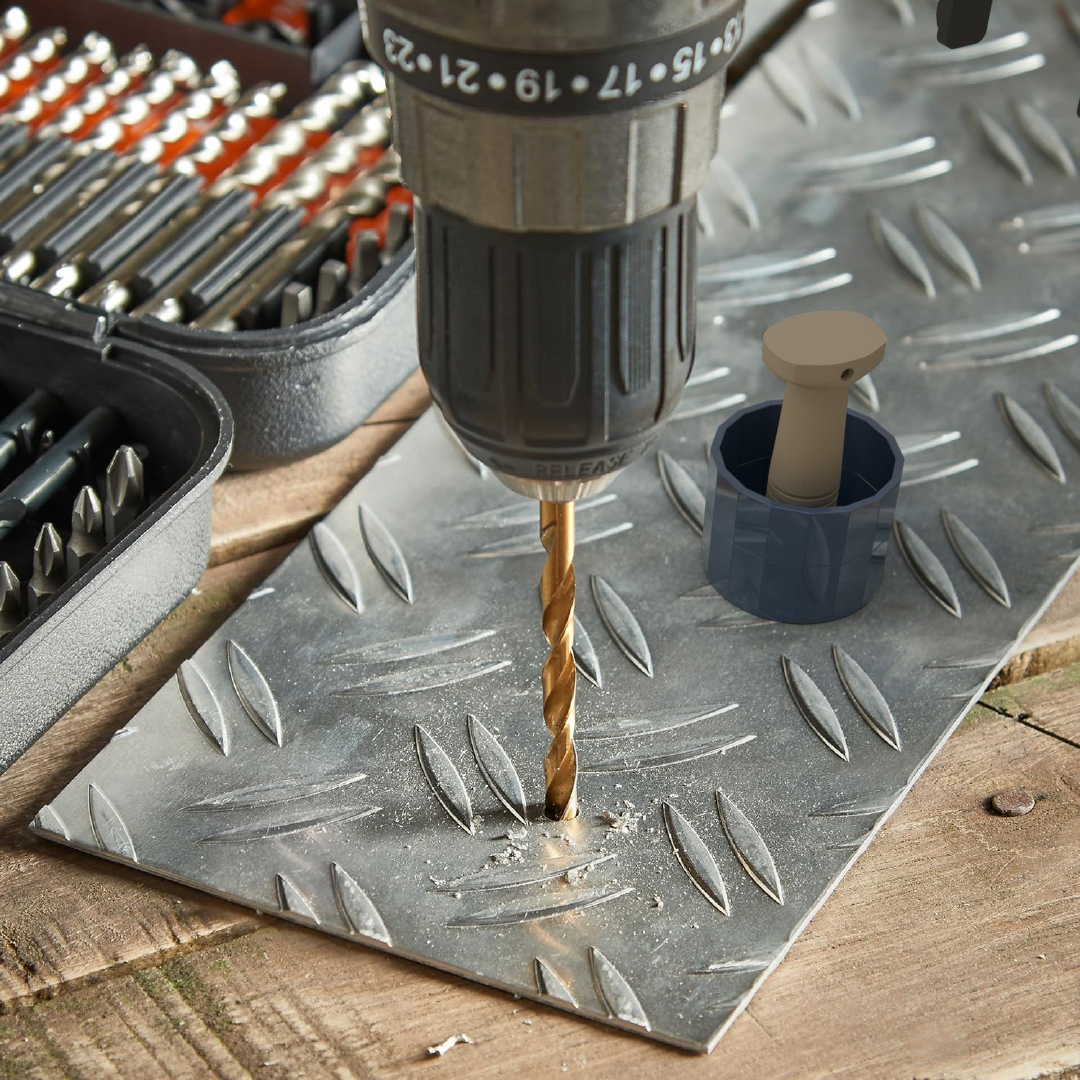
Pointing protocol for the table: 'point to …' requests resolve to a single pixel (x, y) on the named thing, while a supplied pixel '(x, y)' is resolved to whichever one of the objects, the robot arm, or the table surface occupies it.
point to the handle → (816, 399)
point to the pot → (797, 522)
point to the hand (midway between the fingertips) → (1026, 79)
